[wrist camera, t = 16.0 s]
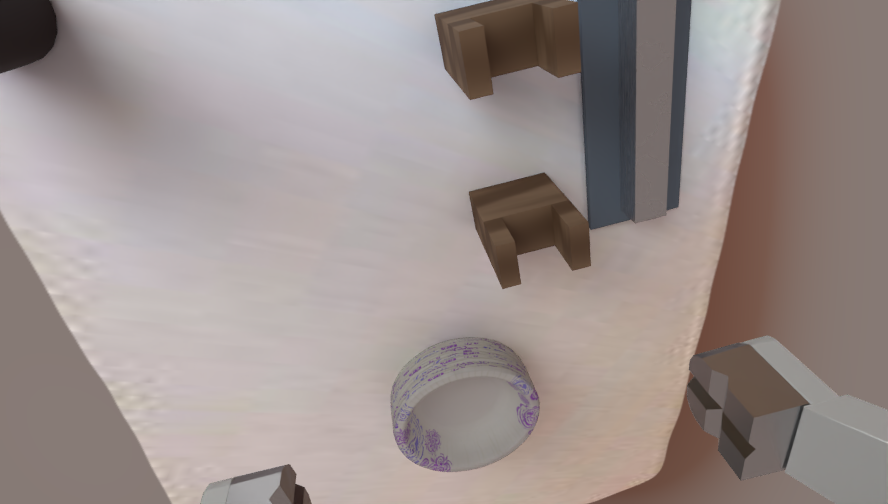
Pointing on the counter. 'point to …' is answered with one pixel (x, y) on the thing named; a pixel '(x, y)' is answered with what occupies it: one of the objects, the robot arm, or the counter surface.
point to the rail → (645, 104)
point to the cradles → (471, 66)
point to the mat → (603, 107)
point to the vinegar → (25, 32)
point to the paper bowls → (463, 405)
